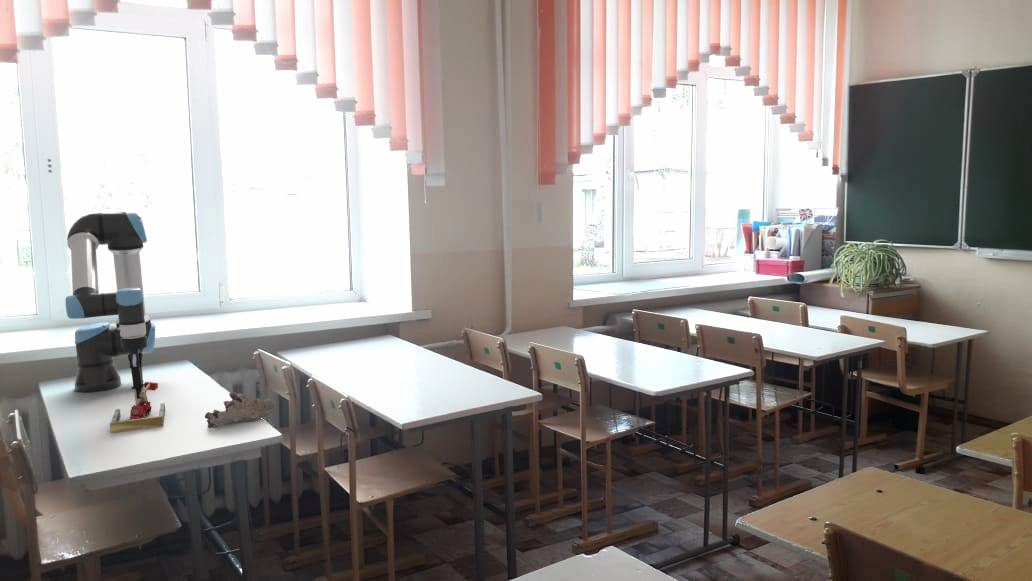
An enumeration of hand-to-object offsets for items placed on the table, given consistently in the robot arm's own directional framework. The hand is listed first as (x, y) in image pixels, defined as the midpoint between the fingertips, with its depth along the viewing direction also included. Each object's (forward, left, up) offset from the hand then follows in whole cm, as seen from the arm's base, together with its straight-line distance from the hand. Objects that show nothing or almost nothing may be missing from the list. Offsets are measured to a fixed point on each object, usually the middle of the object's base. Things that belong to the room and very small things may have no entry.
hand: (140, 407), depth 252 cm
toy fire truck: (+4, +1, -2) cm, 5 cm away
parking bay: (+9, 0, -2) cm, 9 cm away
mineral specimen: (+25, +30, -2) cm, 39 cm away
